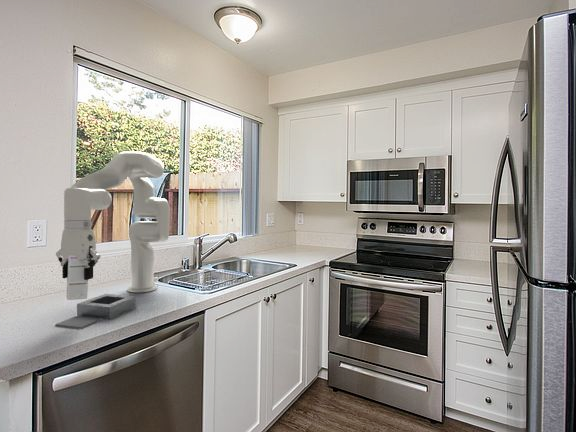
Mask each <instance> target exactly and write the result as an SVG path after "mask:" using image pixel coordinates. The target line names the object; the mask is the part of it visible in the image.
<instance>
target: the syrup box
mask: <svg viewBox="0 0 576 432" xmlns="http://www.w3.org/2000/svg"><path fill="white" fill-rule="evenodd" d="M87 258H89V255H87ZM87 261H88V263H89V260H87ZM84 268H86V266H85V265H84V263H83V261H82V260H77V258H76V256H75V255H70V256H69V260H68V276H67V278H66V279H67V280H66V300H67V301H72V300H74V301H75V300H76V301H77V300H85V299H88V292H89V291H88V289H89V279H88V280H84Z"/></svg>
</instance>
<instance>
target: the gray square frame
mask: <svg viewBox="0 0 576 432" xmlns="http://www.w3.org/2000/svg"><path fill="white" fill-rule="evenodd" d="M136 308H137V298H136V296H135V295H125V294H124V295H123V294H121V295H120V294H113V293H111V294H110V293H104V294H101V295H98V296H95V297H92V298H90V299H88V300H84V301H81V302H78V303H76V316H79V317H88V318H97V319H100V320H106V321H107V320H108V321H111V320H113V319H115V318H118V317H119V316H122V315H124V314H126V313H128V312H130V311H133V310H135V309H136Z"/></svg>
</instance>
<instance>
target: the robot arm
mask: <svg viewBox="0 0 576 432" xmlns="http://www.w3.org/2000/svg"><path fill="white" fill-rule="evenodd" d="M164 169H165V168H164V164H163V162H162V161H161V160H160V159H159V158H157V157H155V156H153V155H151V154H149V153H146V152H143V151H121V152H118V153H116V154H115V156H113V158H112V159H110V161H109V162H108V163H107V164H106V165H105V166H104V167H103V168H101V169H100V170H97V171H94V172H93V173H90V174H88V175H85V176H84V177H81V178H79V179H78V180H77V181H75V183H74V184H72V185H71V186H70V187H68V188H65V189H64V191H63V192H64V193H63V214H64V215H63V217H64V218H63V229H62V234H61V241H60V249H59V250H58V251H56V253H55V256H56V257H57V259H58V262H60V266H61V267H62V279H67V276H68V260H69V256H70V255H75V256H76V258H77V260H82V261H83V263H84V265H85V266H86V268H84V280H88V281H89V280H92V279H93V278H94V268H95V267H96V265H97V264H98V261H99V260H100V258H101V254H100V253H99V252H98V251H97V243H96V237H95V232H94V230H93V229H92V227H93V225H94V224H93V222H92V211H93V210H94V211H102V210H106V209H108V208H109V207H110V206H111V205H112V202H113V201H112V200H113V198H112V195H111V193H110V192H109V191H108V190H111V189H115V188H117V187H118V188H119V186H121V185H122V184H123V183H124V182H125V181H126V179H127V178H128V179H129V181H130V182H131V183H132V188H133V203H132V204H133V207H132V209H133V216H135V218H139V219H150V220H151V219H155V220H156V221H150V220H149V221H148V220H147V221H143V220H142V221H140V220H139V221H138V220H137V221H134V222H133V223H131V224H130V225H129V227H128V236H129V240H130V250H131V253H130V254H131V256H130V259H131V260H130V265H131V266H130V267H131V268H130V269H131V270H130V271H131V273H130V277H131V278H130V286H127V292H129V293H135V294H136V293H138V294H139V293H148V292H152V291H154V290H157V289H158V286H157V284H155V282H158V281H159V277H158V276H156V277H154V268H155V267H154V265H155V264H154V262H155V261H154V259H155V258H154V257H155V254H154V253H155V252H154V249H153V247H152V245H151V243H165V242H167V241H168V239H169V238H170V229H171V227H170V226H171V221H170V220H171V207H170V203H169V201H168V200H167V199H166V198H161V197H154V192H155V190H154V189H155V188H154V185H153V182H151V180H150V179H159V178H160V177H162V175H163V174H164V171H165V170H164ZM87 255H89V258H87ZM87 260H89V263H88V261H87Z"/></svg>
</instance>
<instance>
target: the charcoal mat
mask: <svg viewBox="0 0 576 432" xmlns="http://www.w3.org/2000/svg"><path fill="white" fill-rule="evenodd" d="M100 321H101V319H97V318H88V317H79V316H77V315H76V316H75V315H74V316H73V317H70V318H67V319H65V320H62V321H60V322H57V323H55V324H54V326H55V327H60V328H61V327H62V328H68V329H69V328H70V329H77V330H82V329H85V328H87V327H89V326H91V325H93V324H96V323H98V322H100Z"/></svg>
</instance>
